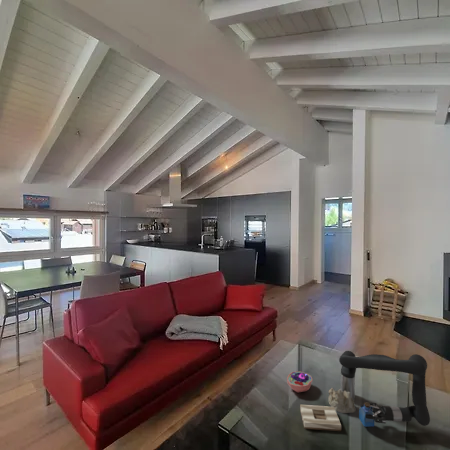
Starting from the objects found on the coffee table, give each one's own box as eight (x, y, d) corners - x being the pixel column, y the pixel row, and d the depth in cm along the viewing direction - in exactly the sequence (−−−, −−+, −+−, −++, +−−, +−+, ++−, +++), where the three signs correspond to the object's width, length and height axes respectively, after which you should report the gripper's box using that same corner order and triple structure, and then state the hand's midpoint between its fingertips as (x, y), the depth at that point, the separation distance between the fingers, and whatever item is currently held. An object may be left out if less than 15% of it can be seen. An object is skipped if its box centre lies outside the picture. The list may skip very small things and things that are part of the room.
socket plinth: (300, 410, 179) (300, 404, 179) (333, 412, 177) (333, 406, 177) (304, 428, 165) (304, 422, 164) (341, 431, 162) (341, 425, 162)
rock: (358, 413, 175) (357, 391, 175) (332, 413, 177) (331, 391, 177) (349, 398, 191) (348, 377, 191) (326, 398, 192) (325, 377, 192)
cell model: (281, 386, 204) (281, 371, 203) (302, 378, 212) (302, 365, 212) (296, 400, 189) (296, 385, 188) (317, 391, 197) (317, 377, 196)
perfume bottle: (368, 418, 168) (369, 400, 167) (374, 426, 162) (374, 407, 161) (358, 418, 168) (359, 400, 167) (364, 426, 162) (364, 408, 161)
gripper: (385, 399, 169) (358, 397, 171) (397, 417, 155) (368, 414, 157) (385, 410, 170) (358, 408, 172) (397, 428, 156) (367, 426, 158)
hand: (363, 411), depth 164 cm, fingers closed on perfume bottle, 7 cm apart
